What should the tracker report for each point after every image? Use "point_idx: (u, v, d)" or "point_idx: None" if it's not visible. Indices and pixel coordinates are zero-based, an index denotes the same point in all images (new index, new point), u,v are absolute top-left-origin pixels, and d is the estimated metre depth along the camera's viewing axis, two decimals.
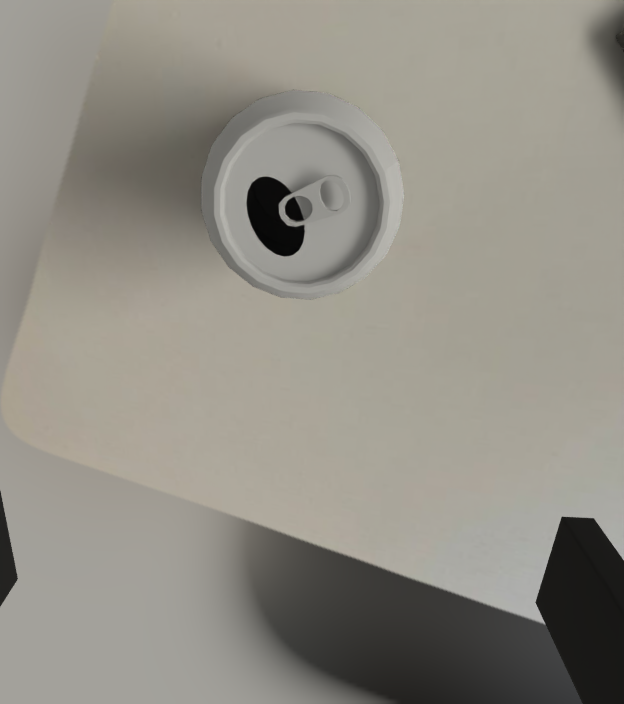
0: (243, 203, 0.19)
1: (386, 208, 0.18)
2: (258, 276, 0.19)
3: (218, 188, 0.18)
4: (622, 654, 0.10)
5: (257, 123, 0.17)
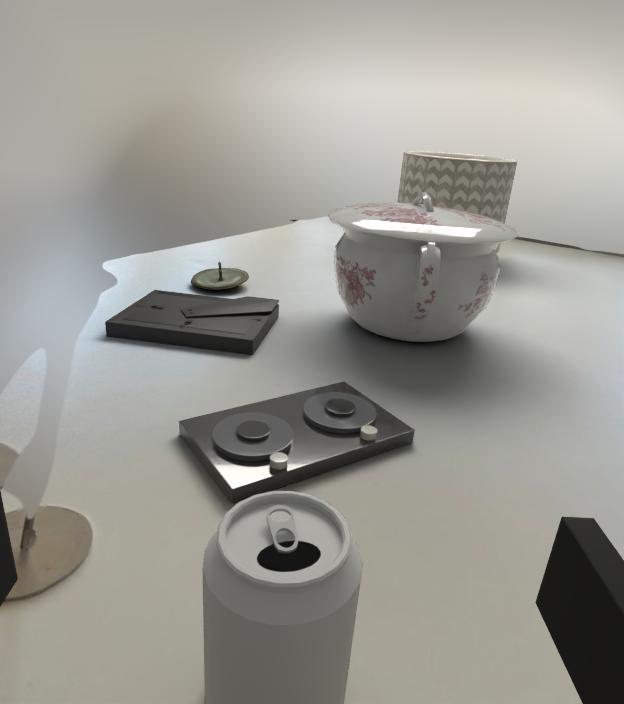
0: (273, 573, 0.23)
1: (294, 492, 0.28)
2: (333, 565, 0.23)
3: (257, 577, 0.22)
4: (622, 654, 0.10)
5: (219, 546, 0.24)
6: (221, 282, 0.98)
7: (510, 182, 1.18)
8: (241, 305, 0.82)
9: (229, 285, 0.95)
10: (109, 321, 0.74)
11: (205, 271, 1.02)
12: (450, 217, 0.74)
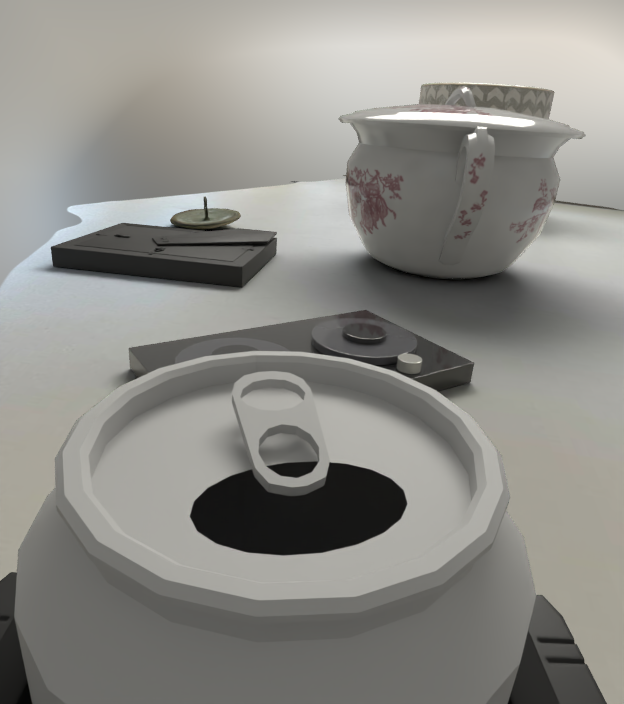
0: (247, 559, 0.06)
1: (312, 353, 0.11)
2: (469, 529, 0.06)
3: (174, 573, 0.05)
4: None
5: (60, 466, 0.07)
6: (207, 221, 0.81)
7: (547, 116, 1.01)
8: (229, 235, 0.65)
9: (216, 223, 0.78)
10: (56, 246, 0.57)
11: (188, 211, 0.85)
12: (498, 110, 0.57)
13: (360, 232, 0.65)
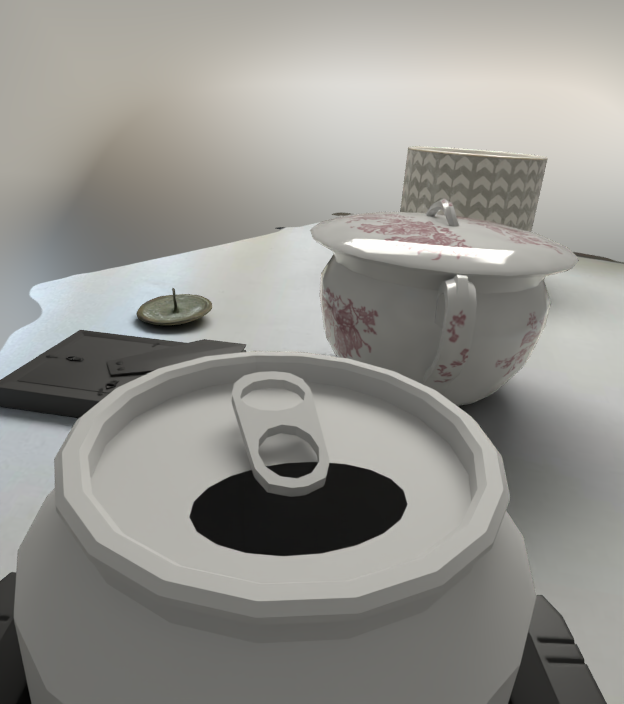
0: (247, 559, 0.06)
1: (312, 354, 0.11)
2: (469, 529, 0.06)
3: (174, 573, 0.05)
4: None
5: (59, 467, 0.07)
6: (176, 314, 0.76)
7: (539, 183, 0.96)
8: (192, 354, 0.60)
9: (184, 320, 0.73)
10: None
11: (157, 299, 0.79)
12: (483, 235, 0.52)
13: (335, 351, 0.59)
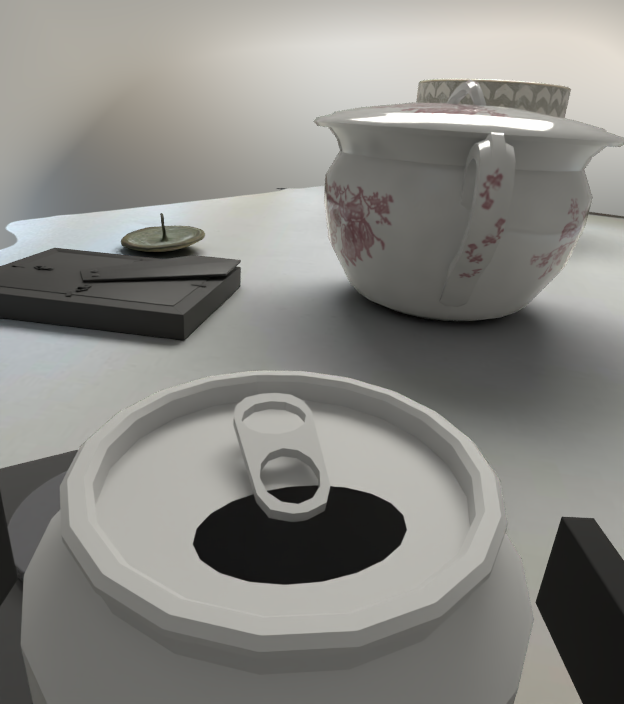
0: (250, 588, 0.06)
1: (313, 373, 0.11)
2: (467, 558, 0.06)
3: (178, 607, 0.06)
4: (622, 654, 0.10)
5: (64, 495, 0.07)
6: (164, 242, 0.68)
7: (562, 117, 0.88)
8: (179, 266, 0.53)
9: (173, 245, 0.65)
10: None
11: (144, 229, 0.72)
12: (516, 109, 0.44)
13: (341, 262, 0.52)
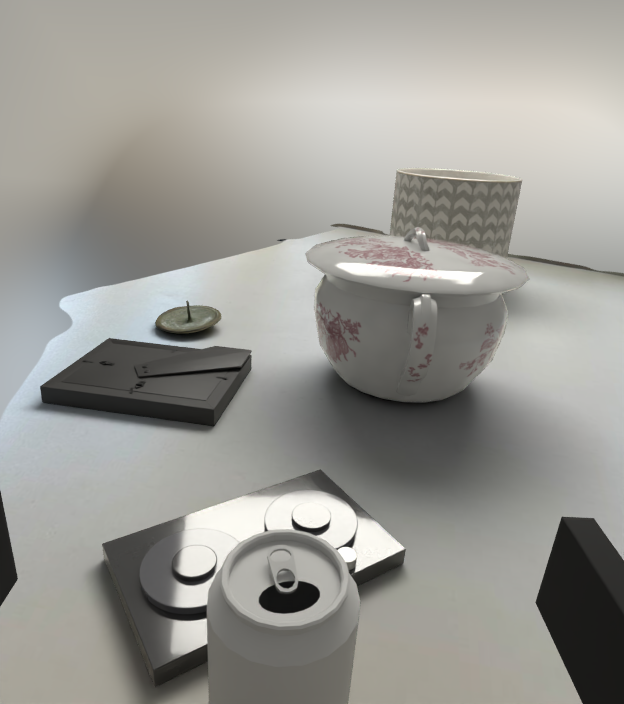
0: (275, 614, 0.24)
1: (294, 530, 0.29)
2: (331, 606, 0.24)
3: (259, 620, 0.23)
4: (622, 654, 0.10)
5: (222, 588, 0.25)
6: (189, 324, 0.86)
7: (515, 203, 1.06)
8: (206, 358, 0.71)
9: (197, 328, 0.83)
10: (45, 385, 0.62)
11: (173, 310, 0.90)
12: (448, 258, 0.62)
13: (327, 356, 0.70)
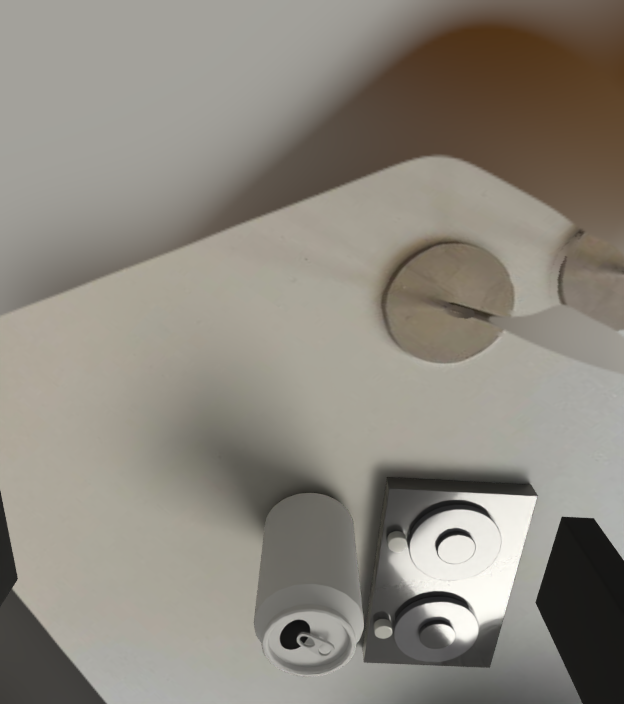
0: (287, 622, 0.35)
1: (340, 666, 0.36)
2: (266, 651, 0.36)
3: (284, 617, 0.34)
4: (622, 654, 0.10)
5: (322, 612, 0.34)
6: None
7: None
8: None
9: None
10: None
11: None
12: None
13: None
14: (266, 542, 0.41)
